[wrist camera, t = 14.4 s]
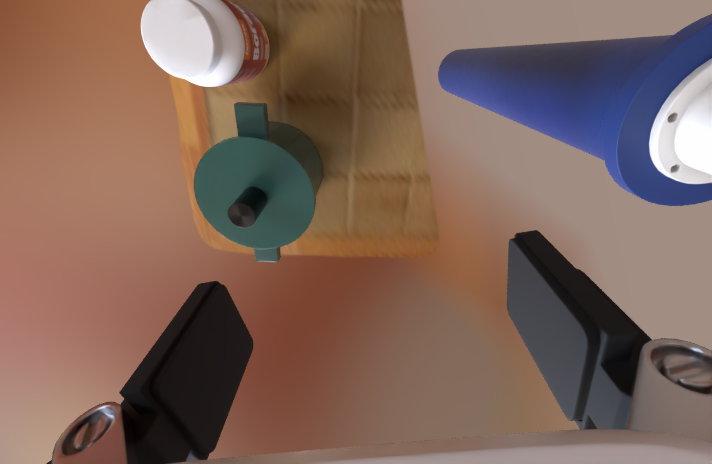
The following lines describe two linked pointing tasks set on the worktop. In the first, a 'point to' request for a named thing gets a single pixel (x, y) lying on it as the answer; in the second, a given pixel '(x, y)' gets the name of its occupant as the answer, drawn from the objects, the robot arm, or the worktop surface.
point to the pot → (256, 124)
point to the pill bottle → (205, 40)
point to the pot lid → (254, 192)
